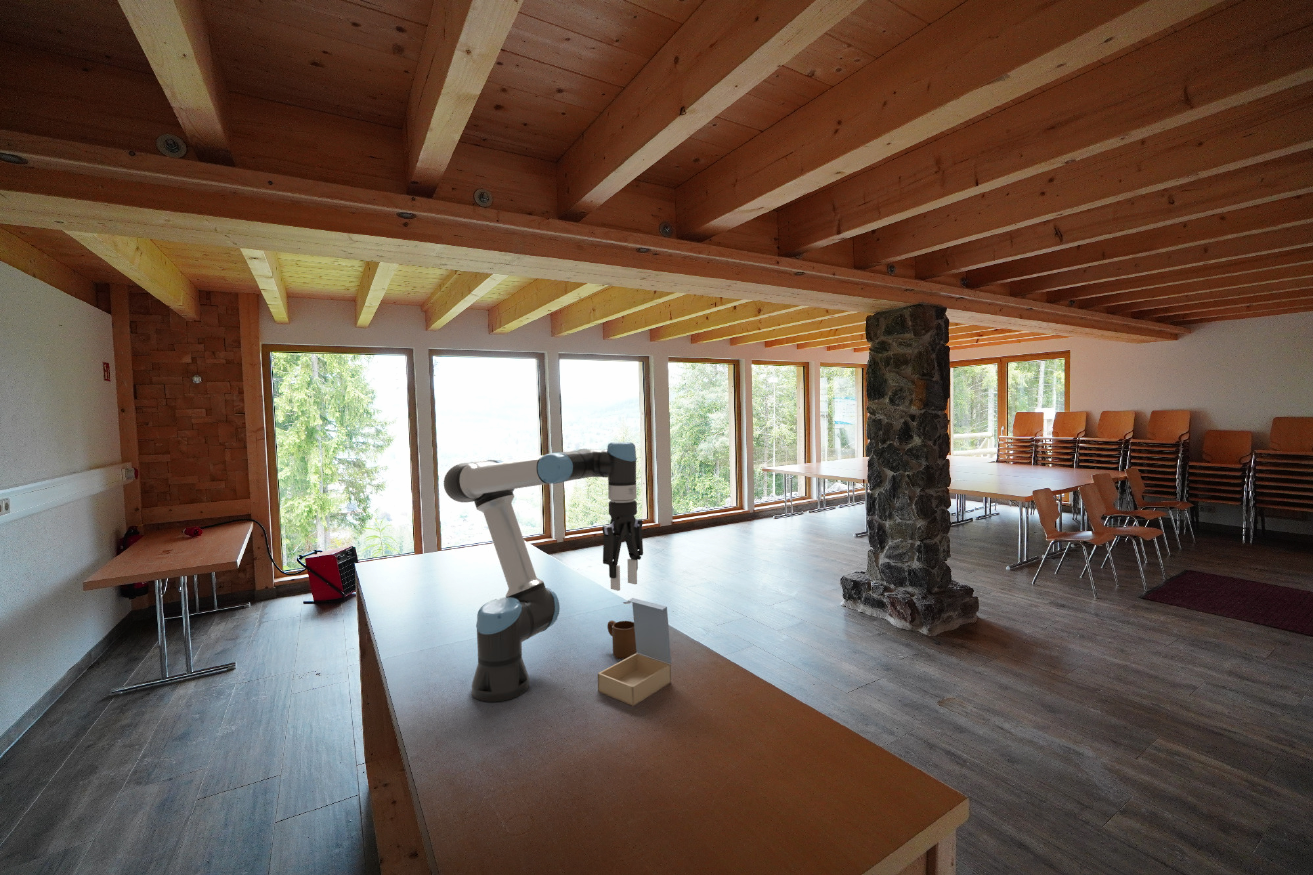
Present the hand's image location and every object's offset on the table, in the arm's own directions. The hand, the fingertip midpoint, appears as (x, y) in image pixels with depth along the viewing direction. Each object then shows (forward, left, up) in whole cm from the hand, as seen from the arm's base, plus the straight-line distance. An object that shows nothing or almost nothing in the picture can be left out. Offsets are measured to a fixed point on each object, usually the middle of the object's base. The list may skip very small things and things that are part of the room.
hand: (624, 586), depth 147 cm
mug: (+8, +24, -29) cm, 39 cm away
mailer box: (+3, +2, -29) cm, 29 cm away
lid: (+8, +4, -16) cm, 18 cm away
